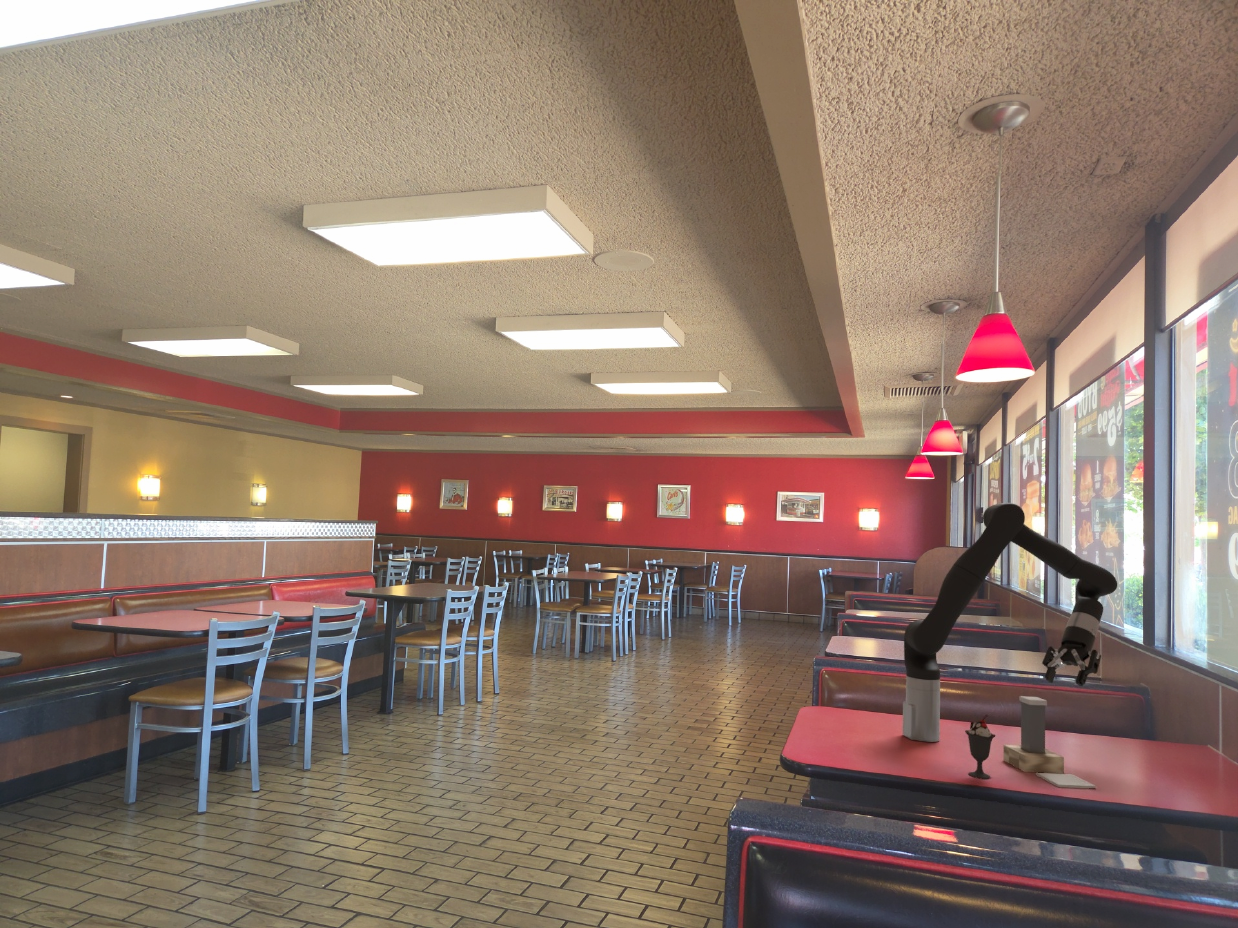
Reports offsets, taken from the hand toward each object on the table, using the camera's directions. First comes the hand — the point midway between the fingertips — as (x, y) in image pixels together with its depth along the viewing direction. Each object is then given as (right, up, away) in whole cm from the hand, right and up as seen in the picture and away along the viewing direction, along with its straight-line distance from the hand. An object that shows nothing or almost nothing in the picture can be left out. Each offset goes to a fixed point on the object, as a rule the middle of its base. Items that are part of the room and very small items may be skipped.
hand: (1063, 682), depth 209 cm
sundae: (-33, -16, -22) cm, 43 cm away
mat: (-13, -17, -24) cm, 32 cm away
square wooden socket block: (-15, -18, -12) cm, 26 cm away
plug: (-15, -18, -12) cm, 26 cm away
